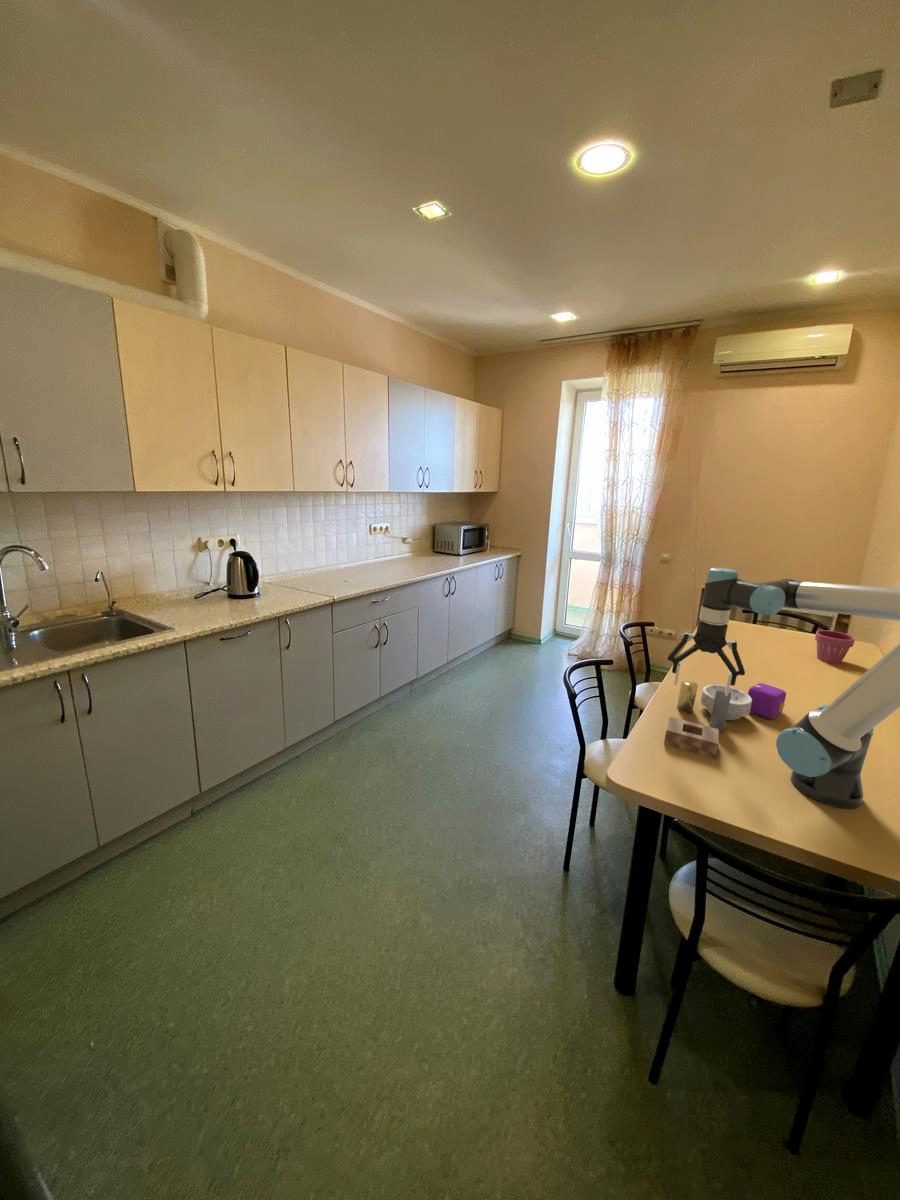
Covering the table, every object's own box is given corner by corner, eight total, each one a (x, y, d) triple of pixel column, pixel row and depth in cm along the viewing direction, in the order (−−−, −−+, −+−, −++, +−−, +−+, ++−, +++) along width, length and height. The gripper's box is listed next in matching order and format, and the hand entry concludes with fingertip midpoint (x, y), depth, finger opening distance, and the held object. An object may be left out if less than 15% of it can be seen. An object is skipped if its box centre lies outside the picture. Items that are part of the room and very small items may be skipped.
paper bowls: (702, 719, 162) (706, 698, 160) (696, 700, 176) (700, 681, 174) (752, 728, 157) (757, 707, 155) (742, 708, 171) (747, 688, 169)
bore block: (715, 743, 147) (718, 729, 146) (715, 759, 138) (718, 744, 137) (667, 730, 153) (669, 716, 152) (663, 744, 145) (666, 730, 144)
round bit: (693, 708, 169) (698, 682, 167) (692, 714, 165) (697, 688, 162) (677, 704, 172) (682, 679, 169) (676, 710, 167) (680, 684, 165)
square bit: (723, 727, 157) (731, 688, 153) (723, 732, 153) (731, 693, 150) (709, 723, 159) (716, 685, 155) (708, 729, 155) (716, 690, 152)
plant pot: (817, 663, 219) (824, 637, 215) (805, 653, 232) (811, 628, 229) (854, 667, 215) (861, 641, 212) (839, 657, 228) (846, 632, 225)
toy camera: (785, 710, 171) (791, 685, 168) (778, 723, 161) (784, 697, 158) (751, 700, 178) (756, 676, 175) (742, 712, 168) (748, 686, 166)
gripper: (763, 626, 133) (748, 694, 138) (667, 611, 145) (657, 674, 150) (765, 633, 127) (749, 704, 132) (665, 616, 138) (654, 683, 144)
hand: (700, 688), depth 141 cm, fingers open, 13 cm apart
